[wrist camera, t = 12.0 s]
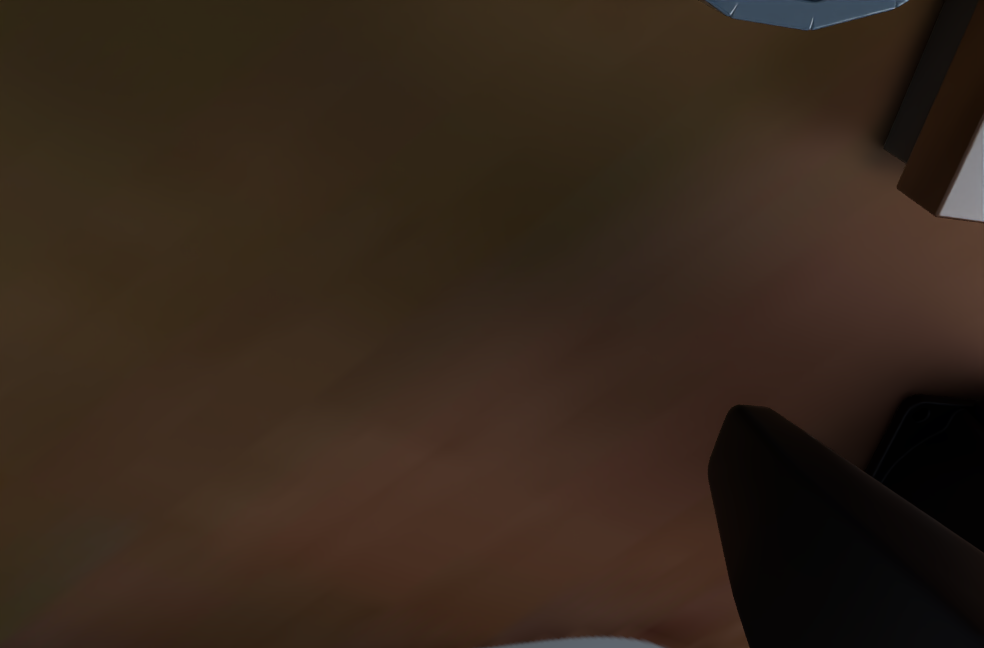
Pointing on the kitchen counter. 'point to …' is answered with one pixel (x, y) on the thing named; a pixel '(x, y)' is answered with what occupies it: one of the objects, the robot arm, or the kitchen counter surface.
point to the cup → (801, 11)
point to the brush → (946, 118)
